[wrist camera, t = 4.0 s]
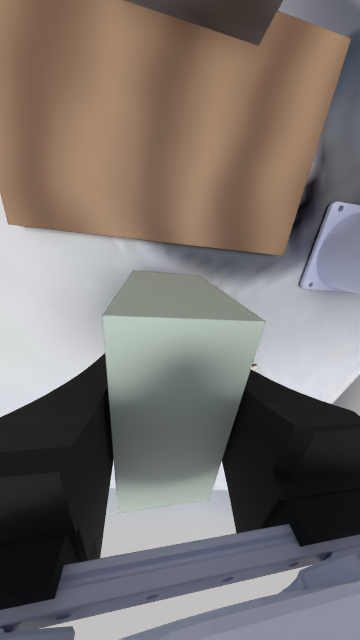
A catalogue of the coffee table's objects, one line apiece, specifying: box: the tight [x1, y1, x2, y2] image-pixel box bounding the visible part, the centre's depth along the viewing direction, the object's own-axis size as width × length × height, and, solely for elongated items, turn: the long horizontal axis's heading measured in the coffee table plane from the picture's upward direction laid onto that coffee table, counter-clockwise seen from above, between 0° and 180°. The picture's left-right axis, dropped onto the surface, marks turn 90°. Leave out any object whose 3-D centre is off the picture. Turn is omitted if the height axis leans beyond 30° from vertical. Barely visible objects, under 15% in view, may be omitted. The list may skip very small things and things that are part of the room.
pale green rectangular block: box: [102, 270, 266, 513], centre depth 9 cm, size 4×9×7 cm, turn 175°
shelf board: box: [0, 0, 351, 256], centre depth 10 cm, size 22×13×7 cm, turn 84°
